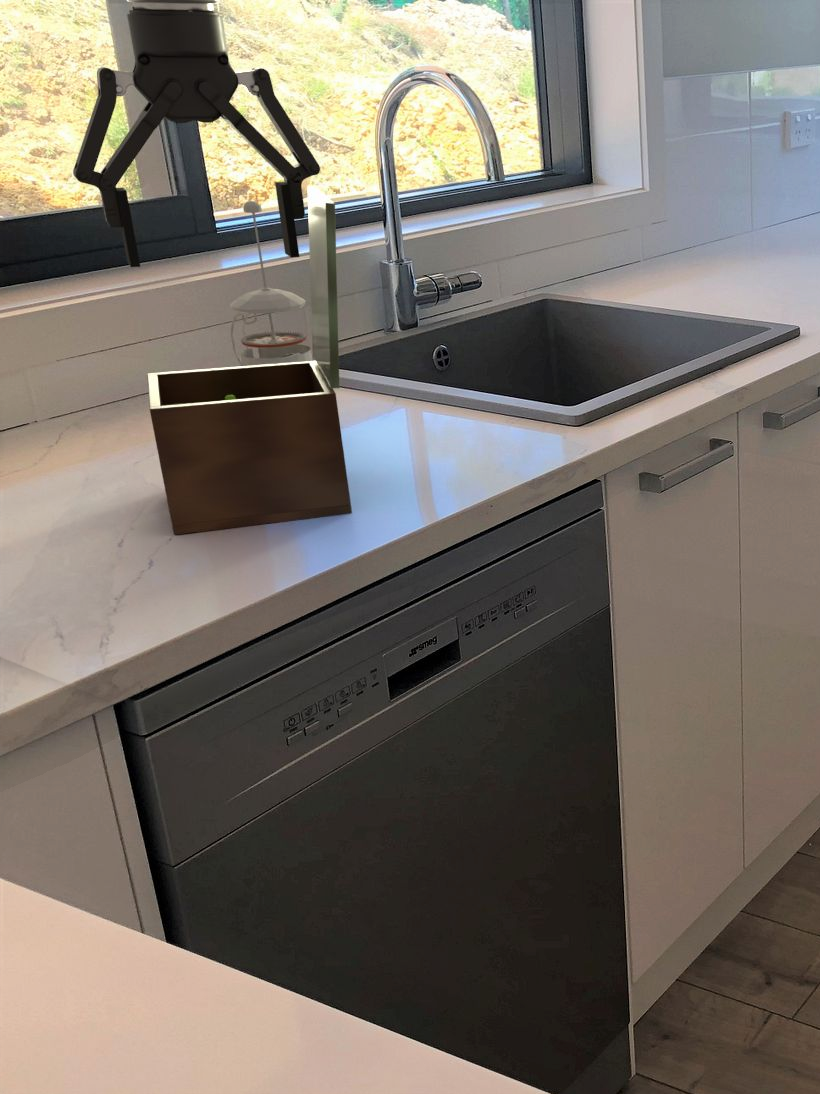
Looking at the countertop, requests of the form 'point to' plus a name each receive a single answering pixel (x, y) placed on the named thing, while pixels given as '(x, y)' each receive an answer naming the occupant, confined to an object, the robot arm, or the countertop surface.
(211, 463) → the chest
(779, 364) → the countertop surface
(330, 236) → the lid
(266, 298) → the french press
